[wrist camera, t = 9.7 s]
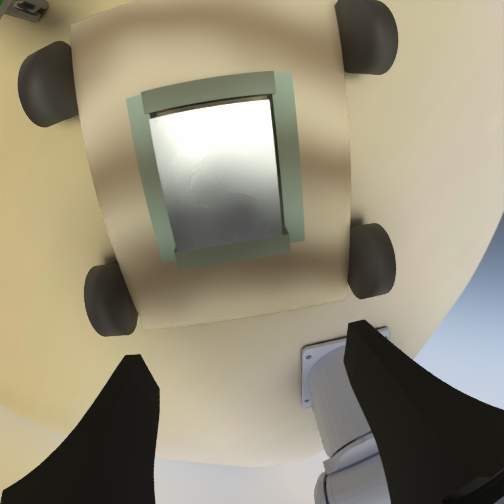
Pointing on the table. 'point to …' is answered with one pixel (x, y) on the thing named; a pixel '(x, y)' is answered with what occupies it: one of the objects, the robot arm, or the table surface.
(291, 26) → the chassis
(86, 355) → the table surface
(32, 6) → the mechanical component
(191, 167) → the block
